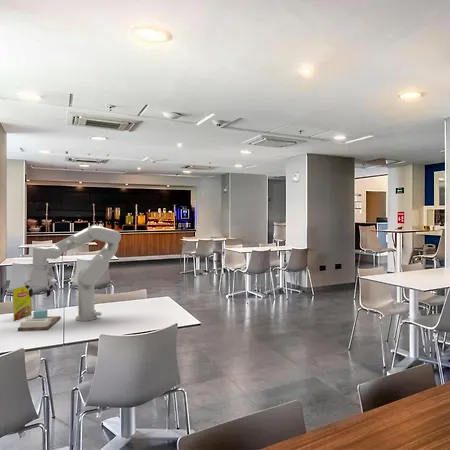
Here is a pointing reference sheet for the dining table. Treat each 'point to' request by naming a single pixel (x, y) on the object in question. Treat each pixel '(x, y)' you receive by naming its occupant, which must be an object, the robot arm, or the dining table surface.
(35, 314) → the teal cube
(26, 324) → the white tray
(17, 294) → the food package
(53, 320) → the board
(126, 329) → the dining table surface
